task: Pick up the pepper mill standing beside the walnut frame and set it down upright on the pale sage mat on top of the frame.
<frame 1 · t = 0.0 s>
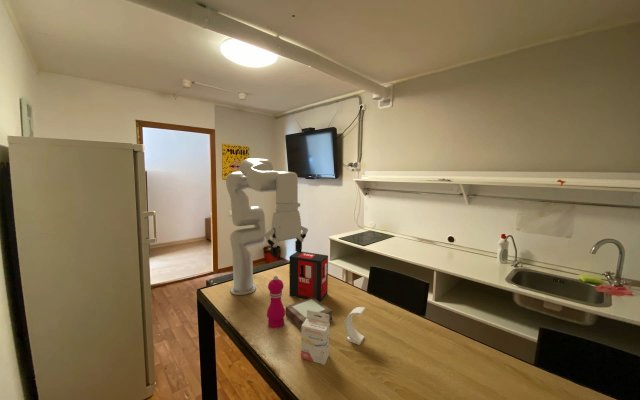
hand: (287, 254, 92), 31 cm above the table, tool pointing down, fingers open, 9 cm apart
pepper mill: (276, 324, 103), on the table
headphone stand: (354, 339, 94), on the table
walnut frame: (308, 317, 107), on the table
ink cartridge box: (315, 357, 85), on the table
cleaning product box: (308, 295, 127), on the table
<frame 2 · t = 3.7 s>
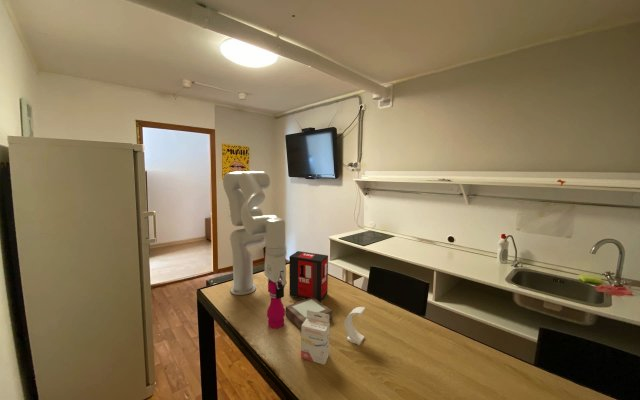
hand: (275, 293, 101), 13 cm above the table, tool pointing down, fingers closed on pepper mill, 6 cm apart
pepper mill: (276, 324, 103), on the table, touching gripper
everything else where it was.
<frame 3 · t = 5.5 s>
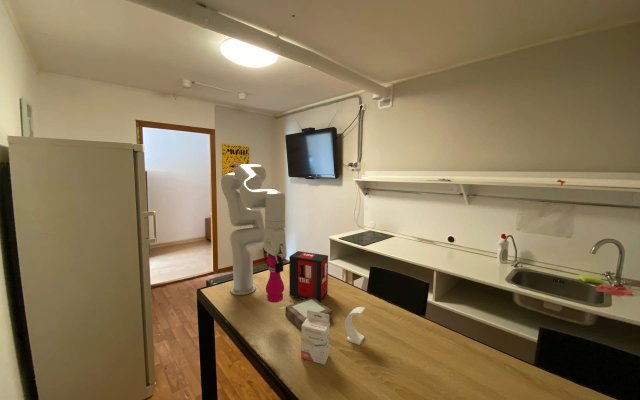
hand: (275, 268, 101), 23 cm above the table, tool pointing down, fingers closed on pepper mill, 6 cm apart
pepper mill: (275, 299, 102), point 10 cm above the table, touching gripper
everything else where it was.
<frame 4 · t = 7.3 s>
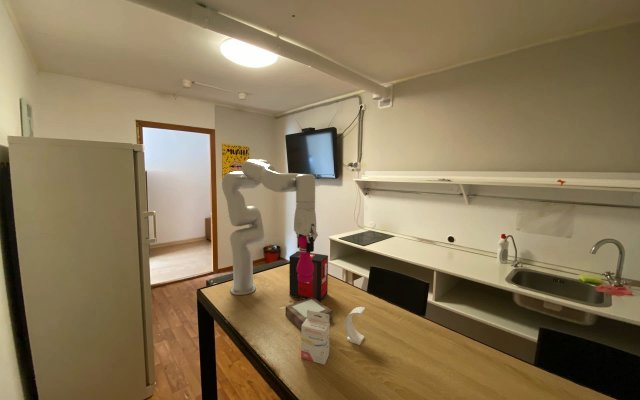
hand: (305, 249, 103), 30 cm above the table, tool pointing down, fingers closed on pepper mill, 6 cm apart
pepper mill: (305, 279, 105), point 17 cm above the table, touching gripper
everything else where it was.
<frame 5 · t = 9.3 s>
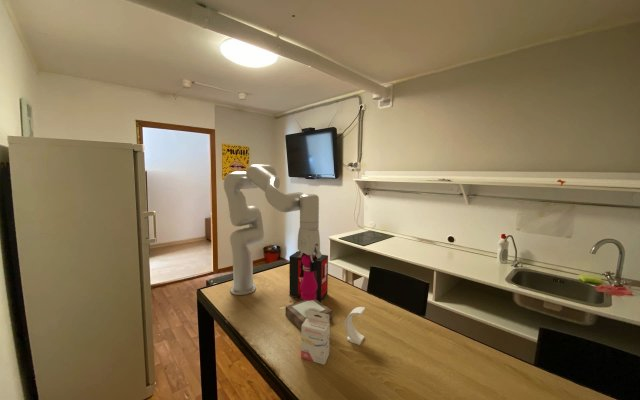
hand: (308, 267, 105), 22 cm above the table, tool pointing down, fingers closed on pepper mill, 6 cm apart
pepper mill: (308, 297, 106), point 9 cm above the table, touching gripper
everything else where it was.
when the fingers open (18 cm above the table, at t = 11.1 s): pepper mill stays where it is, resting on walnut frame.
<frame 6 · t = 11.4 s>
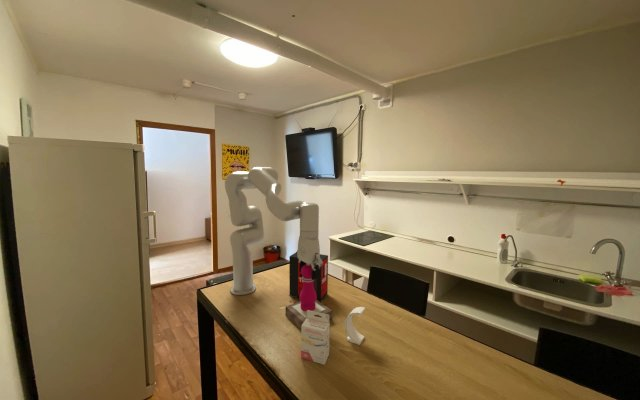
hand: (308, 275, 105), 19 cm above the table, tool pointing down, fingers open, 8 cm apart
pepper mill: (308, 308, 107), point 4 cm above the table, touching walnut frame
everything else where it was.
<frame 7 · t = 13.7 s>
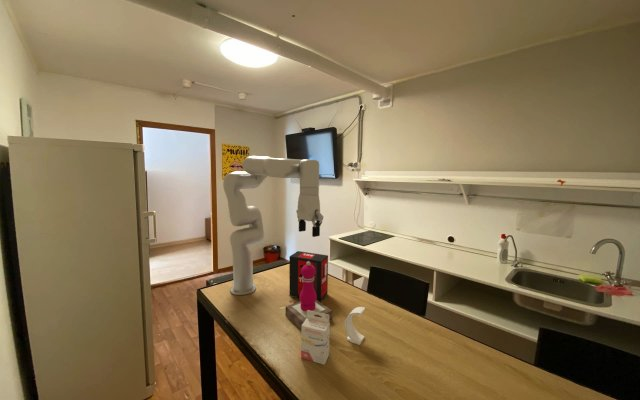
hand: (308, 233, 103), 36 cm above the table, tool pointing down, fingers open, 9 cm apart
nothing on the table moved.
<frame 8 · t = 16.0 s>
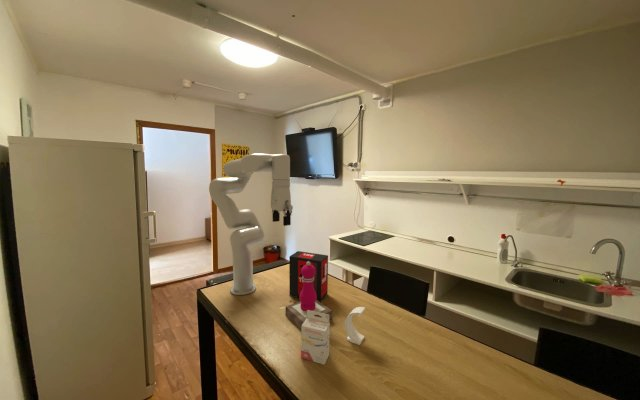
hand: (281, 223, 111), 38 cm above the table, tool pointing down, fingers open, 9 cm apart
nothing on the table moved.
at the end: pepper mill inside the target area on the walnut frame (0.3 cm from its centre), point 4.1 cm above the walnut frame's base; pepper mill tilted 0°; the gripper is holding nothing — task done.
